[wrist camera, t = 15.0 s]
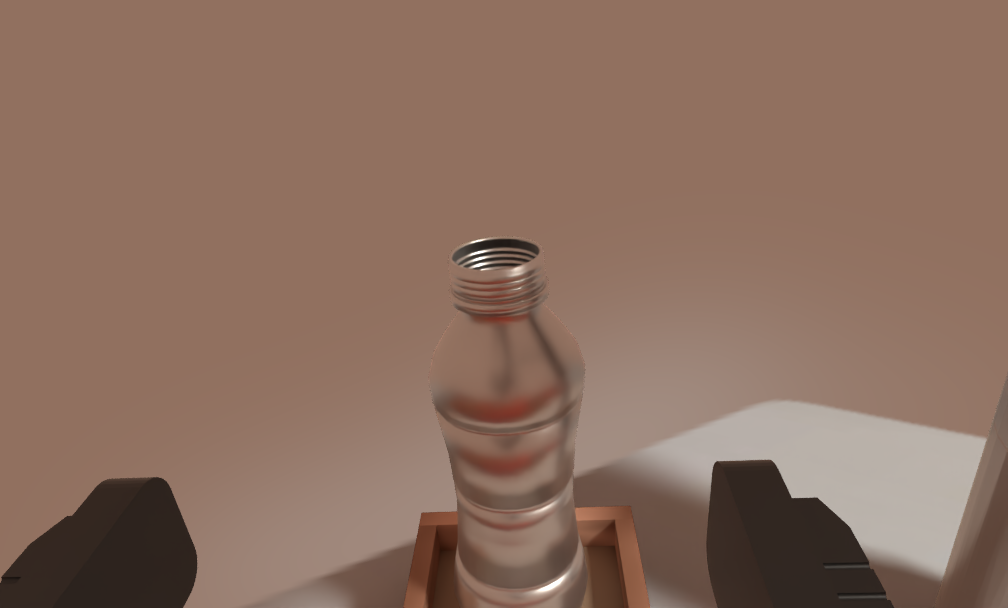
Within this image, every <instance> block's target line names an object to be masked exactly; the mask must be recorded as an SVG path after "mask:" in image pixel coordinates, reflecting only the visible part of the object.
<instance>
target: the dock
mask: <svg viewBox="0 0 1008 608" xmlns="http://www.w3.org/2000/svg"><path fill="white" fill-rule="evenodd" d="M575 512H576V520H577V528H578V533H579V536H580V539H581V543H582V546H583V549H584V554H585V560H586V565H587V574H588V580H587V586H586V591H585V595H584V600H583V604H582V608H650V604H649V599H648V594H647V589H646V584H645V578H644V573H643V568H642V563H641V558H640V553H639V547H638V542H637V537H636V532H635V527H634V522H633V516H632V511H631V506H611V507H581V508H575ZM457 544H458V521H457V512H430V513H422V514H421V519H420V524H419V529H418V535H417V539H416V544H415V550H414V555H413V560H412V565H411V570H410V575H409V580H408V586H407V591H406V596H405V601H404V606H403V608H460V605H459V602H458V600H457V597H456V594H455V590H454V563H455V556H456V550H457Z"/></svg>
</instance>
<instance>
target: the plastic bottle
mask: <svg viewBox="0 0 1008 608" xmlns="http://www.w3.org/2000/svg"><path fill="white" fill-rule="evenodd" d="M448 259H449V260H448V266H449V274H450V280H451V285H450V288H449V293H450V300H451V303H452V305H453V306H454V307H455V308H456V309H458V310H459V311H458V313H457V314H456V315H455V317H454V318H453V320H452V321H451V323H450V324H449V326H448V327H447V328H446V330H445V332H444V334H443V335H442V337H441V339H440V341H439V343H438V345H437V347H436V348H435V350H434V353H433V357H432V361H431V366H430V371H429V376H428V378H429V387H430V391H431V396H432V401H433V404H434V406H435V410H436V414H437V417H438V420H439V424H440V427H441V430H442V433H443V437H444V440H445V443H446V446H447V449H448V453H449V457H450V463H451V468H452V473H453V479H454V482H455V490H456V495H457V521H458V544H457V550H456V556H455V563H454V590H455V594H456V597H457V600H458V602H459V605H460V608H582V604H583V600H584V595H585V591H586V586H587V580H588V574H587V565H586V560H585V554H584V549H583V546H582V543H581V539H580V536H579V533H578V528H577V520H576V512H575V504H574V496H573V469H574V454H575V439H576V432H577V426H578V420H579V414H580V408H581V401H582V395H583V389H584V378H585V363H584V360H583V357H582V354H581V351H580V348H579V345H578V343H577V341H576V340H575V338H574V336H573V335H572V334H571V333H570V331H569V330H568V329H567V328H566V326H565V325H564V324H563V322H562V321H561V320H560V319H559V318H558V317H557V316H556V315H555V314H554V313H553V312H552V311H551V310H550V309H549V308H548V307H547V306H546V305H545V304H543V302H544V301H545V300H546V299H547V298H548V295H549V282H548V279H547V277H546V275H545V260H544V252H543V248H542V246H541V245H540V244H539V243H537V242H535V241H533V240H530V239H527V238H522V237H513V236H498V237H487V238H482V239H476V240H473V241H469V242H467V243H464V244H462V245H460V246H458V247H456V248H455V249H453V250H452V251H451V252H450V254H449V256H448Z"/></svg>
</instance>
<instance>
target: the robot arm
mask: <svg viewBox="0 0 1008 608" xmlns="http://www.w3.org/2000/svg"><path fill="white" fill-rule="evenodd" d="M707 561H708V569H709V575H710V580H711V585H712V589H713V592H714V596H715V599H716V603H717V607H718V608H894V607H893V605H892V603H891V601H890V600H887V598H886V592H885V590H884V588H883V587H882V585H881V583H880V581H879V579H878V577H877V576H876V574H875V572H874V570H873V569H870V567H869V561H868V559H867V557H866V556H865V554H864V552H863V550H862V548H861V547H860V545H859V543H858V541H857V539H856V538H855V536H854V534H853V532H852V530H851V528H850V527H849V526H848V525H847V524H846V523H845V522H844V521H843V520H841V519H840V518H839V517H838V516H837V515H836V514H835V513H834V512H833V511H831V510H830V509H829V508H828V507H827V506H826V505H825V504H824V503H823V502H821V501H820V500H819V499H818V498H791V495H790V493H789V491H788V489H787V487H786V485H785V483H784V481H783V479H782V476H781V474H780V472H779V470H778V468H777V466H776V465H775V463H774V462H773V461H772V460H748V461H717V462H715V464H714V466H713V472H712V482H711V494H710V506H709V517H708V529H707ZM196 573H197V555H196V550H195V547H194V544H193V542H192V540H191V537H190V535H189V532H188V530H187V527H186V525H185V523H184V520H183V518H182V515H181V513H180V510H179V508H178V505H177V503H176V501H175V498H174V496H173V493H172V491H171V488H170V486H169V485H168V483H167V482H166V481H165V480H164V479H162V478H158V477H153V478H120V479H107V480H105V481H103V482H101V483H100V484H99V485H98V486H97V487H96V488H95V489H94V490H93V491H92V493H91V494H90V495H89V496H88V497H87V499H86V500H85V501H84V502H83V504H82V505H81V506H80V507H79V508H78V510H77V511H76V512H75V513H74V514H73V515H72V516H67V517H65V518H64V519H63V520H61V521H60V522H59V523H58V524H56V525H55V526H53V527H52V528H51V529H49V530H48V531H47V532H46V533H44V534H43V535H42V536H40V537H39V538H37V539H36V540H35V541H34V542H32V543H31V544H30V545H29V546H28V547H27V548H26V549H25V550H24V552H23V553H22V554H21V555H20V556H19V557H18V558H17V560H16V561H15V562H14V563H13V564H12V565H11V567H10V568H9V569H8V570H7V571H6V573H5V574H4V575H3V576H2V577H1V578H2V581H1V583H0V608H183V606H184V605H185V603H186V601H187V599H188V597H189V595H190V593H191V591H192V588H193V586H194V582H195V578H196ZM934 608H1008V373H1007V376H1006V380H1005V383H1004V386H1003V389H1002V392H1001V395H1000V399H999V402H998V405H997V408H996V413H995V416H994V419H993V422H992V425H991V428H990V431H989V435H988V438H987V441H986V444H985V447H984V450H983V453H982V457H981V460H980V463H979V466H978V469H977V472H976V476H975V479H974V482H973V485H972V488H971V491H970V495H969V498H968V501H967V504H966V507H965V510H964V514H963V517H962V520H961V523H960V526H959V529H958V533H957V536H956V539H955V542H954V545H953V548H952V552H951V555H950V558H949V561H948V564H947V567H946V571H945V574H944V577H943V580H942V583H941V586H940V589H939V592H938V595H937V599H936V602H935V605H934Z"/></svg>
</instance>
